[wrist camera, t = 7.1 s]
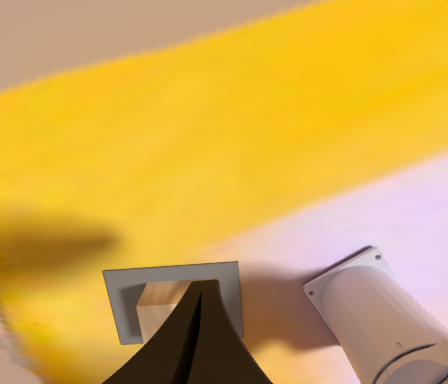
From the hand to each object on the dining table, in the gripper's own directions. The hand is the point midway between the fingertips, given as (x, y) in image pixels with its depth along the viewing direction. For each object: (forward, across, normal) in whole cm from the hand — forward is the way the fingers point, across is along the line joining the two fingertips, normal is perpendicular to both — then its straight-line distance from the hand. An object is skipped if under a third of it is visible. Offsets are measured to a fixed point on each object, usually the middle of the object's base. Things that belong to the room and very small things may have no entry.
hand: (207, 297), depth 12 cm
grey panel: (+10, +5, +9) cm, 15 cm away
